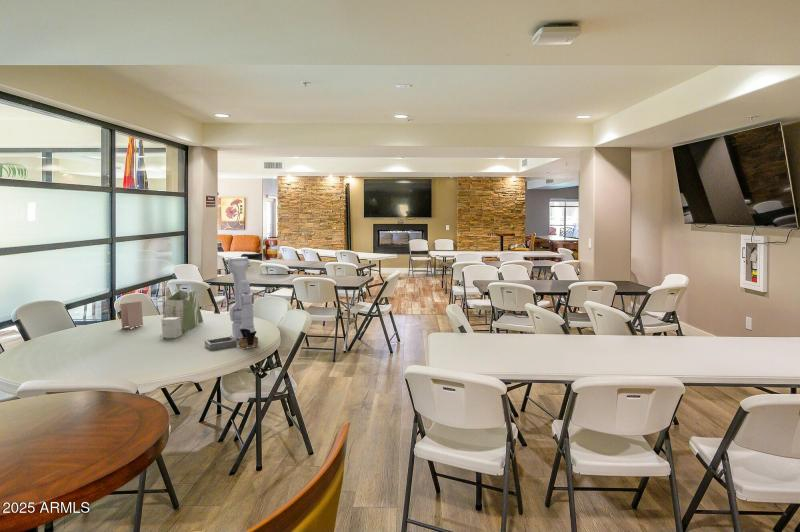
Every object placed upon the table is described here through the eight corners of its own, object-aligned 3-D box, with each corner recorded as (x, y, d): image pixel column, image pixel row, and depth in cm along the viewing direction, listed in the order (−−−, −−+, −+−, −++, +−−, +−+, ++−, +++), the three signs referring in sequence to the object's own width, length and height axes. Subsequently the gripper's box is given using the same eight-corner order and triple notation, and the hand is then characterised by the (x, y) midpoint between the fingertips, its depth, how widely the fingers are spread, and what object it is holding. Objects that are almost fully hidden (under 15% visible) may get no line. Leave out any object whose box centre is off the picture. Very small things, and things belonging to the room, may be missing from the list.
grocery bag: (187, 332, 278) (185, 292, 275) (162, 333, 276) (159, 293, 274) (204, 320, 310) (201, 284, 307) (181, 321, 308) (178, 285, 306)
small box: (181, 335, 271) (180, 317, 270) (176, 338, 266) (175, 319, 265) (168, 335, 272) (167, 317, 271) (162, 338, 266) (161, 319, 265)
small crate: (239, 346, 246) (238, 338, 245) (254, 344, 250) (254, 335, 250) (242, 349, 242) (241, 340, 241) (258, 346, 246) (257, 337, 246)
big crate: (204, 346, 248) (204, 340, 248) (230, 341, 256) (230, 336, 255) (210, 350, 240) (209, 344, 240) (236, 345, 248) (236, 340, 247)
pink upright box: (142, 325, 299) (140, 301, 298) (146, 327, 294) (144, 302, 292) (121, 328, 291) (119, 303, 290) (125, 330, 286) (123, 305, 284)
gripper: (234, 315, 248) (236, 342, 249) (243, 320, 236) (245, 348, 238) (248, 314, 252) (249, 339, 254) (258, 318, 240) (259, 345, 242)
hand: (248, 343), depth 246 cm, fingers closed on small crate, 5 cm apart
